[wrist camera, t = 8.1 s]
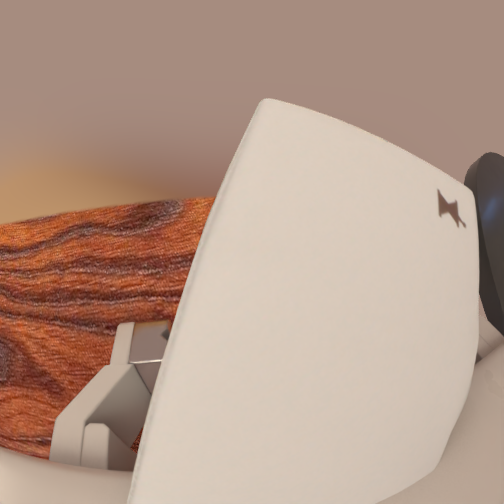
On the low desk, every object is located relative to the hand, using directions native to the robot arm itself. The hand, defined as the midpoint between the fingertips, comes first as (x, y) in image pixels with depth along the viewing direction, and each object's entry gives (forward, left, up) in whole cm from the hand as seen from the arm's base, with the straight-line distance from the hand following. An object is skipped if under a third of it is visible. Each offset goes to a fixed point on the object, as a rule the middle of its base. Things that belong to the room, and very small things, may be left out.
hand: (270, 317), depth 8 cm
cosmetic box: (0, +1, -7) cm, 7 cm away
